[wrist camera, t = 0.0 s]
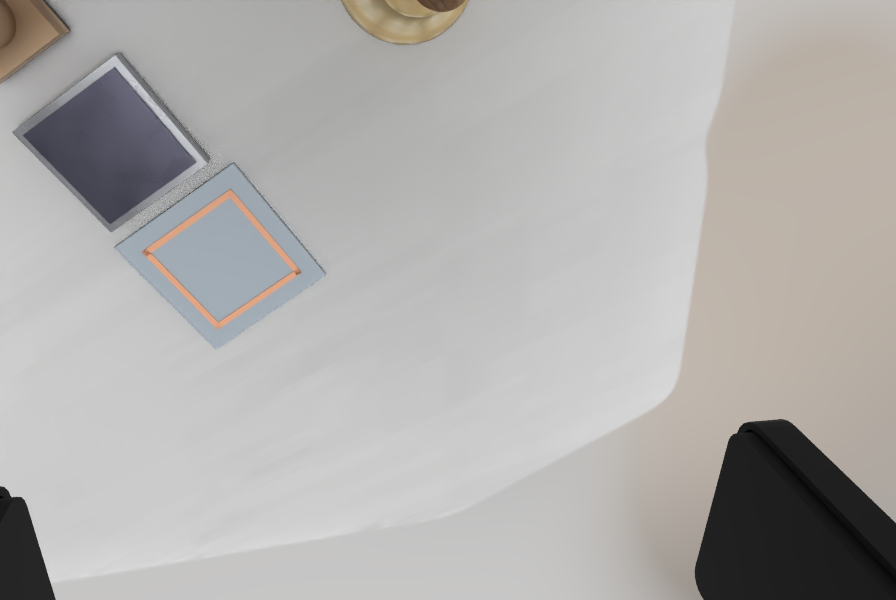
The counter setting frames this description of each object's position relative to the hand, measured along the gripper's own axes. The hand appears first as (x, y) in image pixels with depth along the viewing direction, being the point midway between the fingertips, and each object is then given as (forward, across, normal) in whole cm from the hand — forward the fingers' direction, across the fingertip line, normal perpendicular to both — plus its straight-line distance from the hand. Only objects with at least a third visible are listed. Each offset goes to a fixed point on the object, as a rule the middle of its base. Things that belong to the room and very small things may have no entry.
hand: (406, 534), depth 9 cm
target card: (+37, +8, +11) cm, 40 cm away
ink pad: (+37, +13, +3) cm, 40 cm away
